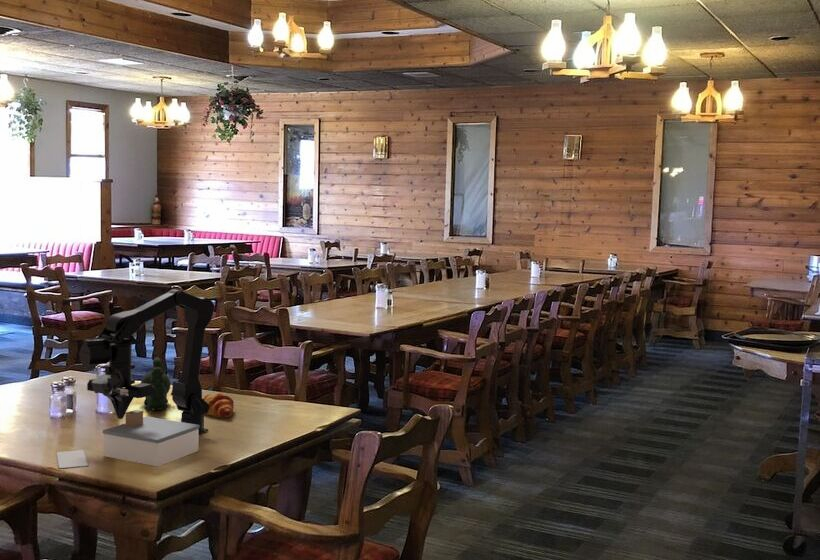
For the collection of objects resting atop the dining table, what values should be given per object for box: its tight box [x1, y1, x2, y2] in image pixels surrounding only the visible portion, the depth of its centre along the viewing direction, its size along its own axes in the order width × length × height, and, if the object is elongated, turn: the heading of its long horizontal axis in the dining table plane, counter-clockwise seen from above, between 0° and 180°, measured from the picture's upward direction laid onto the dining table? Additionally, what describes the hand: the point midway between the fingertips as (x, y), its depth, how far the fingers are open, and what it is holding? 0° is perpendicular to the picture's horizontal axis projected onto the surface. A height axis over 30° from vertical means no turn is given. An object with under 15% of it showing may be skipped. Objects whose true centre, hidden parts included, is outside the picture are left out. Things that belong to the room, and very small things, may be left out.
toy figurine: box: [140, 356, 171, 412], centre depth 278 cm, size 9×19×25 cm
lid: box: [102, 409, 200, 443], centre depth 228 cm, size 17×18×4 cm
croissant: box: [202, 392, 235, 419], centre depth 274 cm, size 21×10×8 cm, turn 33°
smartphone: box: [55, 449, 89, 470], centre depth 222 cm, size 7×1×15 cm
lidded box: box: [103, 429, 200, 467], centre depth 229 cm, size 16×18×6 cm
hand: (120, 418), depth 233 cm, fingers closed
